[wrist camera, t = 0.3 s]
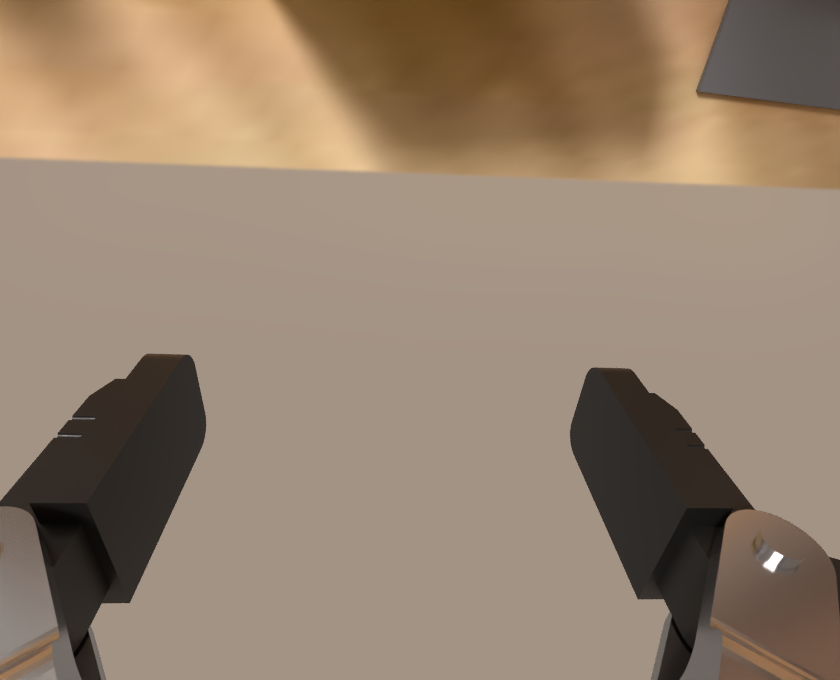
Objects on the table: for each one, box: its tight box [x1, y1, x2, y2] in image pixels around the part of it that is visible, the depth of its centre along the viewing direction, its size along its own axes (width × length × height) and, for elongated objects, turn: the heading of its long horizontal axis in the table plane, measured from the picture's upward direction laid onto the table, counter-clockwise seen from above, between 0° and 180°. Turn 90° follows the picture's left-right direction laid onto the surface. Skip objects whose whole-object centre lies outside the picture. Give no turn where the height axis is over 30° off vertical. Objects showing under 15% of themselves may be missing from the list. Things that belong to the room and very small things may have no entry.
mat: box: [696, 0, 840, 110], centre depth 32 cm, size 8×16×1 cm, turn 84°
